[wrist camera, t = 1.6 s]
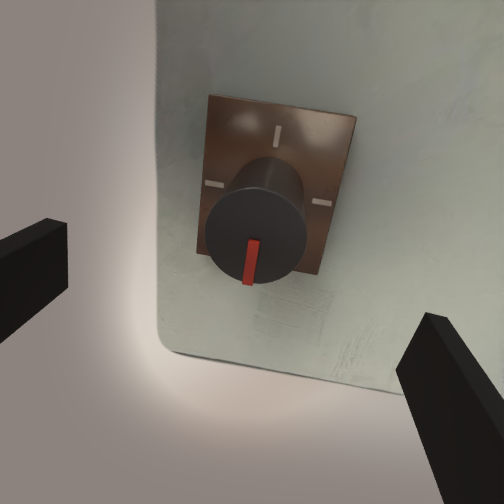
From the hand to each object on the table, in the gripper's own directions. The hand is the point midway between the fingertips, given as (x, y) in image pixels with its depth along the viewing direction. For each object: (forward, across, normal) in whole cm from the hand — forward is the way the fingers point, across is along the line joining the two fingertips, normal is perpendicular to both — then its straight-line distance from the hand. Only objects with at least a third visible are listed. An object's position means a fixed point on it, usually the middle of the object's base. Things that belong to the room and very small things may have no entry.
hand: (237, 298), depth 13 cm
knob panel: (+16, 0, 0) cm, 16 cm away
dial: (+14, 0, 0) cm, 14 cm away
